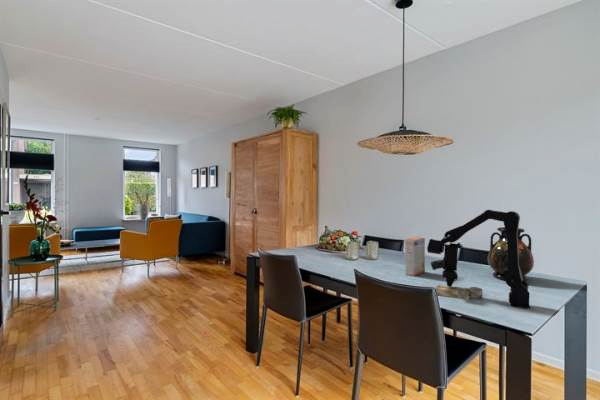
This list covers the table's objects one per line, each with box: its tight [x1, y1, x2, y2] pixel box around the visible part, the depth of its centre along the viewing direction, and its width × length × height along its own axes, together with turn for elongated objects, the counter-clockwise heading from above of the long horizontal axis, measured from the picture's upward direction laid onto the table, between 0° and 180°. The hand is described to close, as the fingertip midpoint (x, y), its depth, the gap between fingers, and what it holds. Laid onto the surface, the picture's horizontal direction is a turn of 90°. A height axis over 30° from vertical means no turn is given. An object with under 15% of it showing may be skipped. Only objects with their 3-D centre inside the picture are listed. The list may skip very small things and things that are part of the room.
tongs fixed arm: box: [434, 286, 470, 300], centre depth 147 cm, size 14×3×4 cm, turn 65°
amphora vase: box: [487, 226, 535, 282], centre depth 178 cm, size 22×22×28 cm
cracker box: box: [404, 236, 426, 277], centre depth 188 cm, size 14×6×21 cm, turn 134°
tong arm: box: [437, 284, 483, 300], centre depth 148 cm, size 18×5×4 cm, turn 66°
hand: (448, 288), depth 153 cm, fingers closed
